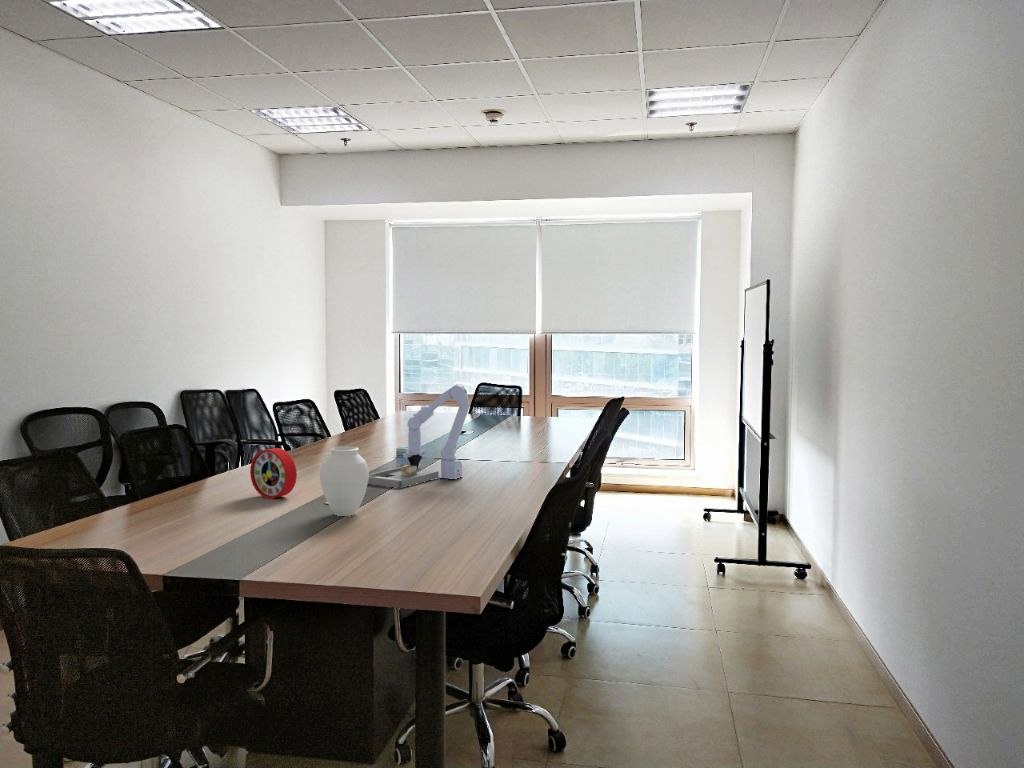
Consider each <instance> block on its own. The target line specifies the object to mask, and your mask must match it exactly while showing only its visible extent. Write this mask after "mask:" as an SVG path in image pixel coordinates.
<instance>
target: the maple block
mask: <svg viewBox="0 0 1024 768" xmlns="http://www.w3.org/2000/svg"><path fill="white" fill-rule="evenodd" d="M417 472H418V470H417V466H412V465H406V466H402V467H401V475H405V476H413V475H417Z"/></svg>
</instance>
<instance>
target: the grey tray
mask: <svg viewBox="0 0 1024 768" xmlns="http://www.w3.org/2000/svg"><path fill="white" fill-rule="evenodd" d="M386 477H388V478H386ZM438 477H439V470H435V471H432V472H421V471H417V475H413V476H405V475H401V467H399V468H396V467H395V468H391V469H390V468H389V469H386V470H382V471H378V472H373V473H369V479H368V484H374V485H373V486H375V485H381V486H380V487H383V486H388V487H387V488H390V487H396V488H395V489H397V488H402V487H405V486H409V485H413V484H416V483H420V482H424V481H428V480H431V479H435V478H438ZM438 479H439V478H438ZM428 482H429V481H428ZM424 483H425V482H424ZM368 484H367V485H368ZM420 484H421V483H420ZM413 486H414V485H413ZM409 487H410V486H409ZM405 488H406V487H405ZM402 489H403V488H402Z"/></svg>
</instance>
